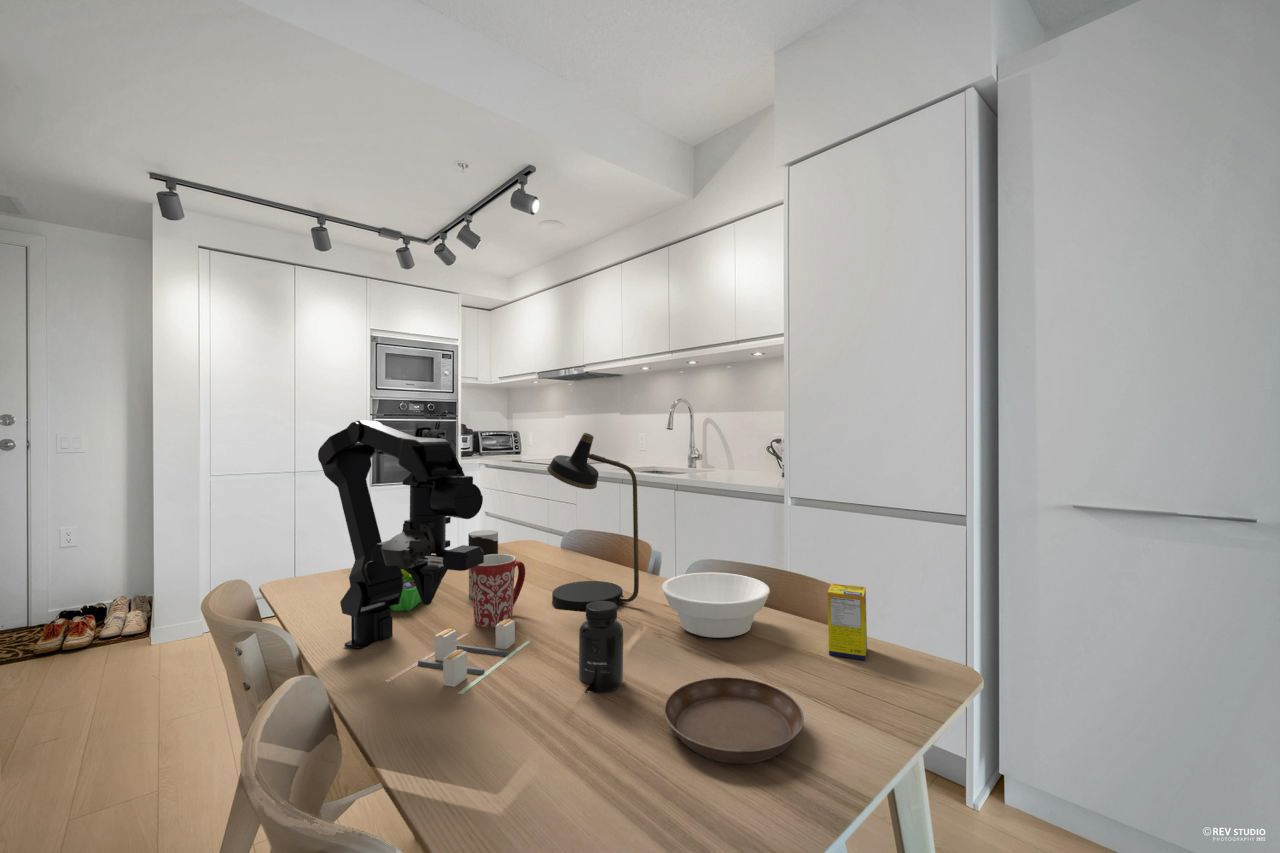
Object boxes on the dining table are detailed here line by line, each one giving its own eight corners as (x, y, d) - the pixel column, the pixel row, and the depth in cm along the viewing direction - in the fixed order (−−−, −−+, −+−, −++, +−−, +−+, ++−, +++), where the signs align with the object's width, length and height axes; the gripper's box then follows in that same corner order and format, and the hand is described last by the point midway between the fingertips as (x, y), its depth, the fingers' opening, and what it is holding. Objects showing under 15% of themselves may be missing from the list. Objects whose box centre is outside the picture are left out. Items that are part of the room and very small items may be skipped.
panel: (379, 692, 80) (378, 680, 80) (468, 637, 101) (468, 627, 101) (458, 705, 76) (458, 693, 76) (534, 645, 97) (534, 635, 97)
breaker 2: (495, 648, 93) (495, 624, 93) (505, 641, 96) (504, 618, 96) (505, 649, 92) (505, 625, 92) (514, 642, 95) (514, 619, 95)
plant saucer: (708, 792, 57) (708, 764, 57) (642, 713, 74) (642, 691, 74) (835, 752, 64) (835, 726, 64) (749, 688, 81) (749, 667, 81)
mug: (489, 638, 100) (488, 567, 100) (460, 628, 105) (459, 560, 106) (539, 619, 110) (538, 554, 110) (510, 611, 116) (510, 548, 116)
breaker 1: (443, 685, 79) (443, 656, 79) (455, 676, 82) (455, 648, 82) (454, 686, 79) (454, 658, 79) (467, 677, 82) (466, 650, 82)
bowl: (646, 640, 99) (645, 596, 99) (680, 605, 118) (680, 568, 119) (760, 657, 91) (760, 609, 91) (777, 617, 111) (777, 577, 111)
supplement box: (867, 648, 94) (866, 586, 94) (866, 661, 89) (865, 595, 89) (831, 642, 97) (830, 582, 97) (828, 655, 91) (827, 591, 91)
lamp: (568, 587, 132) (567, 432, 133) (651, 596, 125) (649, 432, 125) (533, 607, 117) (532, 433, 118) (624, 619, 110) (623, 432, 110)
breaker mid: (434, 660, 88) (434, 634, 88) (446, 652, 91) (446, 628, 91) (445, 661, 88) (445, 635, 88) (456, 654, 90) (456, 629, 90)
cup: (465, 595, 127) (464, 532, 127) (492, 590, 131) (492, 529, 131) (474, 602, 122) (473, 536, 122) (502, 596, 126) (502, 533, 126)
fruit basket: (413, 612, 115) (412, 560, 115) (372, 613, 115) (372, 560, 115) (434, 596, 127) (434, 548, 127) (397, 596, 127) (397, 549, 127)
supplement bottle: (588, 698, 77) (588, 615, 77) (572, 679, 83) (571, 602, 83) (631, 687, 80) (630, 608, 81) (612, 669, 87) (611, 595, 87)
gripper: (345, 517, 86) (344, 614, 86) (444, 525, 80) (442, 628, 80) (396, 507, 96) (395, 593, 96) (486, 513, 91) (485, 604, 91)
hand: (426, 604), depth 91 cm, fingers closed
